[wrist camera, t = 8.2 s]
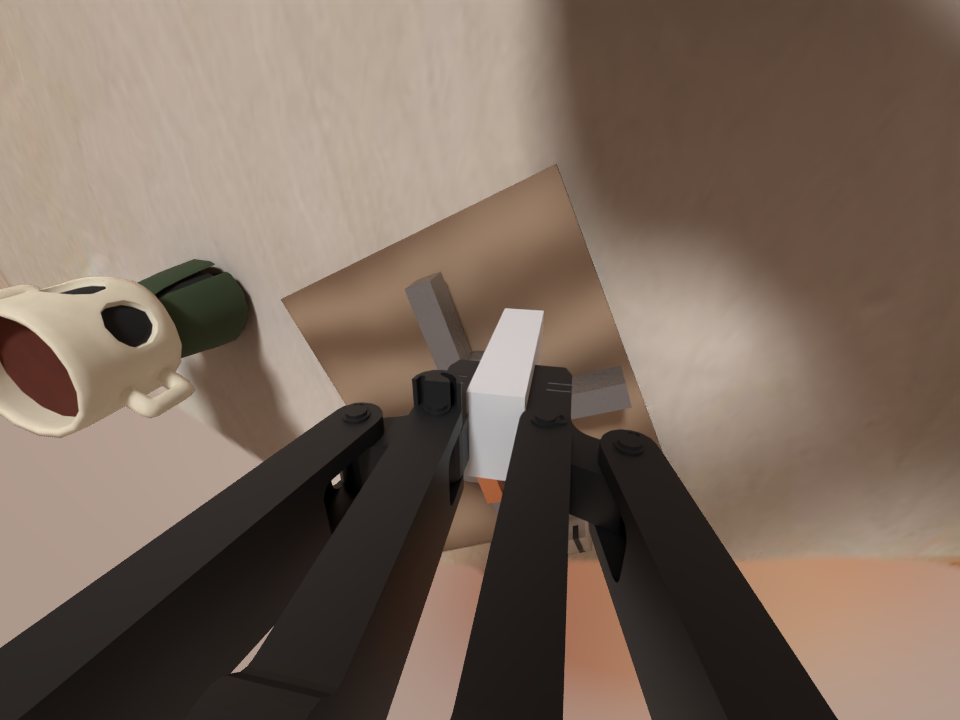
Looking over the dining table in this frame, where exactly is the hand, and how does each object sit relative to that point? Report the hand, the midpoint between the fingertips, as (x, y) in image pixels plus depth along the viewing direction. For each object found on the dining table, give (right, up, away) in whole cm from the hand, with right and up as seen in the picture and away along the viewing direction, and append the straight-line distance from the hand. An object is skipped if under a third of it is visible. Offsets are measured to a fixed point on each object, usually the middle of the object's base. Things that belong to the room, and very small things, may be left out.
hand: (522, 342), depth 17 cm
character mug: (-21, +4, +16) cm, 27 cm away
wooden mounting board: (-1, -3, +14) cm, 15 cm away
